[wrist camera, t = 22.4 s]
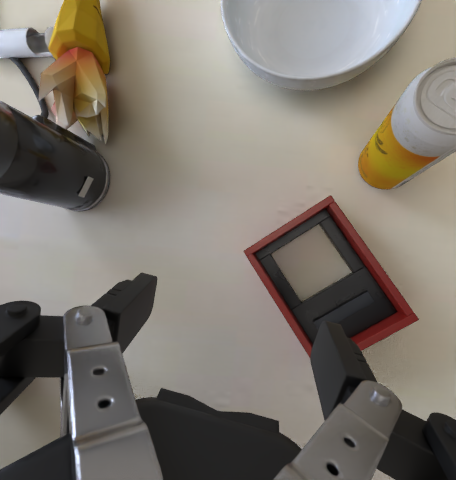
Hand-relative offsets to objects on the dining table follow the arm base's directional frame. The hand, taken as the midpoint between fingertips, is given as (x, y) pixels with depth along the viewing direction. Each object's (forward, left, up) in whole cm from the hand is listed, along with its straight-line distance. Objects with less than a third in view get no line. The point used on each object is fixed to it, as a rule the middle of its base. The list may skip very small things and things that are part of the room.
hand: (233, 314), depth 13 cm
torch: (-35, -17, -23) cm, 45 cm away
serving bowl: (-29, +12, -23) cm, 39 cm away
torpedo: (-43, -30, -23) cm, 57 cm away
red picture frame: (+2, +6, -23) cm, 24 cm away
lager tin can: (-10, +16, -23) cm, 30 cm away
